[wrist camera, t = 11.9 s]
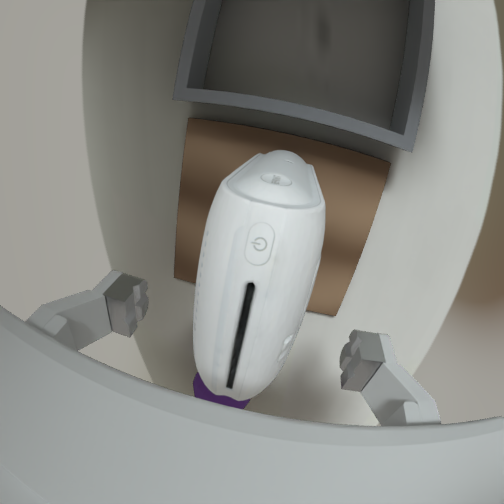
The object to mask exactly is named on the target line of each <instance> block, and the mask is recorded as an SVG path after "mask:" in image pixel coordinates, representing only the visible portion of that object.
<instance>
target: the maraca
mask: <svg viewBox="0 0 504 504" xmlns="http://www.w3.org/2000/svg"><path fill="white" fill-rule="evenodd" d="M193 387H194V394H195V397H196V398H200V399H203V400H207V401H210V402H214V403H218V404H222V405H226V406H230V407H234V408H238V409H244V407H245V406H246V405H247V404H248V402H249V401H250V399H247V400H243V401H237V400H235V399H233V398H231V397H229V396H225V395H215V394H214V393H212V392H211V391H210V390H209V389H208V388H207V387H206V385H205V384H204V382H203V380H202V379H201V377H200V375H199V372H197V374H196V376H195V379H194V381H193Z"/></svg>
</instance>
